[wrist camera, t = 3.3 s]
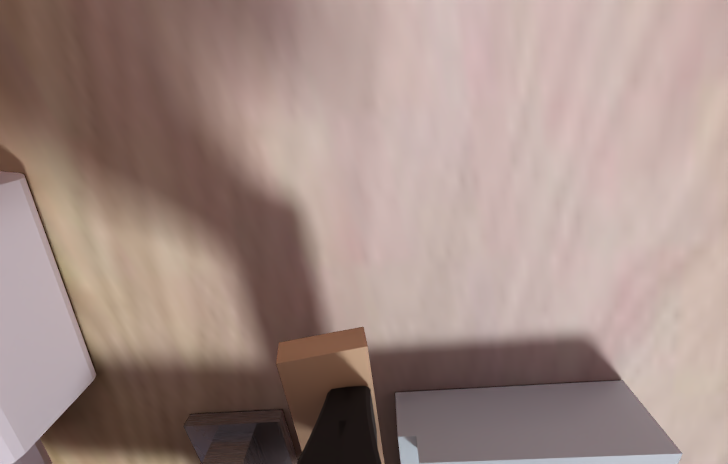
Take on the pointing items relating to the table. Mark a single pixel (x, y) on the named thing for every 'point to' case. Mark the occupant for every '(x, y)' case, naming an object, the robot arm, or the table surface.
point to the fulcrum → (241, 437)
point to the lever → (323, 375)
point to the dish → (531, 426)
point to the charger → (33, 331)
